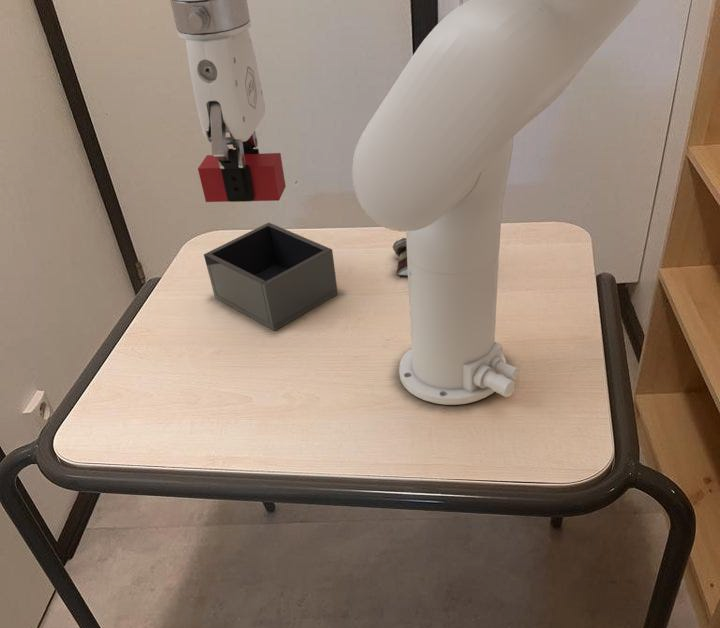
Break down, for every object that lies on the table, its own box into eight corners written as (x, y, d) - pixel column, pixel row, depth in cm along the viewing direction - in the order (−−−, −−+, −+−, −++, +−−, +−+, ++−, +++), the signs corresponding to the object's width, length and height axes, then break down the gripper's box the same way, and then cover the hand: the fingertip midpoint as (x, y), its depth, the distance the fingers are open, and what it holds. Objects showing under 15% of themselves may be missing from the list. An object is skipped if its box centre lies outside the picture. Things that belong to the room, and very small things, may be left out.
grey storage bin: (338, 294, 101) (332, 249, 96) (274, 331, 95) (265, 285, 91) (276, 265, 108) (268, 222, 103) (214, 298, 103) (203, 254, 98)
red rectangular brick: (285, 186, 87) (280, 152, 84) (279, 200, 84) (273, 166, 81) (214, 188, 88) (206, 155, 85) (205, 202, 85) (197, 168, 83)
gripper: (225, 35, 67) (260, 224, 80) (265, -9, 78) (290, 162, 91) (148, 39, 68) (196, 225, 81) (199, -5, 79) (234, 164, 92)
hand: (246, 190), depth 86 cm, fingers closed on red rectangular brick, 3 cm apart
